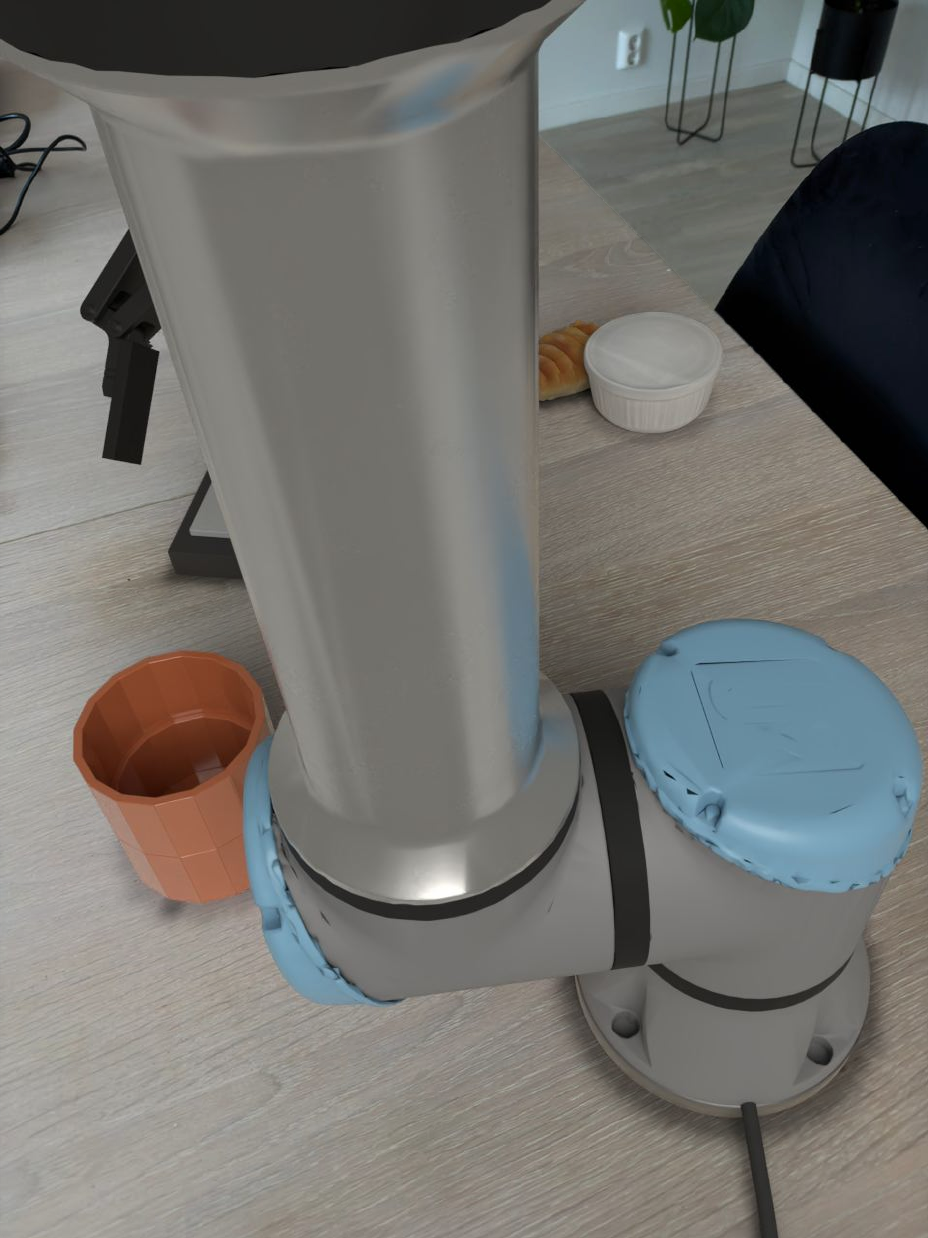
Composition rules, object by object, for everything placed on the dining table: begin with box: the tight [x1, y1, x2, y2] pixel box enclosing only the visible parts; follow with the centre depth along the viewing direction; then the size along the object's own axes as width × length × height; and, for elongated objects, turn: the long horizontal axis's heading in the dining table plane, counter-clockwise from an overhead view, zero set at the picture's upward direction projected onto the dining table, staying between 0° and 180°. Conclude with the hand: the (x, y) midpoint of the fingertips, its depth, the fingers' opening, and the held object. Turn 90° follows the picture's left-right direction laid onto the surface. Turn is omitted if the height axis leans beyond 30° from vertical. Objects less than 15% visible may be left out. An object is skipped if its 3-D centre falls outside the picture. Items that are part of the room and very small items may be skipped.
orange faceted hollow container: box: [72, 649, 276, 904], centre depth 63 cm, size 10×10×11 cm
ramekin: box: [584, 311, 724, 434], centre depth 91 cm, size 11×11×5 cm
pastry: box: [539, 319, 601, 402], centre depth 94 cm, size 9×7×4 cm
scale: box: [167, 469, 244, 580], centre depth 85 cm, size 16×16×3 cm
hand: (229, 483), depth 59 cm, fingers open, 13 cm apart
